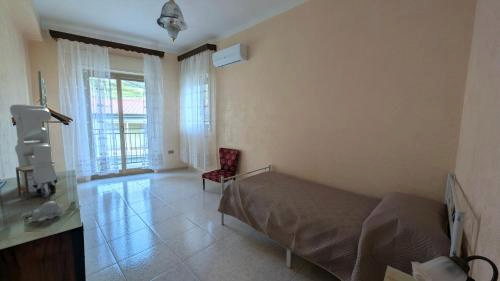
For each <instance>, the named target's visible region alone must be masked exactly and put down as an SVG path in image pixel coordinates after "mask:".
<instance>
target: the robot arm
mask: <svg viewBox="0 0 500 281" xmlns="http://www.w3.org/2000/svg"><path fill="white" fill-rule="evenodd" d="M9 111H10V114H11V116H12V118H13V119H14V121H15V128H16V136H17V141H16V145H15V146H14V150H15V151H14V152H15V153H16V156H17V160H18V161H17V162H18V167H23V166H30V165H35V168H33V172H27V174H29V173H32V181H31V182H30V183H29V184H28V187H29V185H30V186H33V187H35V188H36V189H37V194H39V196H40V195H41V194H42V193H41V188H40V186H41V184H42V183H47V182H50V184H51V185H50V191H52V192H51V193H53V192H54V190H55V188H54V185H55V186H56V184H57V183H58V182H59V181H60V179H61V178H60V177H59V176H58V175H57V174H56V171H55V166H54V165H53V164H55V161H52V155H51V151H52V148H51V145H50V142H49V141H50V140H49V133H48V129H47V128H45V127H43V125H42V123H41V122H49V121H51V120H52V114H51V112H50V110H49V108H47V107H46V106H44V105H40V104H12V105H11V106H10V107H9ZM33 141H34V142H33ZM53 166H54V167H53ZM19 177H20V186H21V188H26V187H25V177H24V172H21V171H19ZM33 183H36V185H34V184H33Z"/></svg>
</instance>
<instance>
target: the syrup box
mask: <svg viewBox="0 0 500 281" xmlns="http://www.w3.org/2000/svg"><path fill="white" fill-rule="evenodd" d="M27 178H28V184H29V183H30V182H31V181H32V173H29V174H27ZM33 184H34V185H36V183H33ZM40 188H41V190H43V183H42V184H41V186H40ZM35 191H37V189H36V188H35V187H33V186H30V185H29V192H35Z"/></svg>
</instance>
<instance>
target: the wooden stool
mask: <svg viewBox="0 0 500 281" xmlns="http://www.w3.org/2000/svg"><path fill="white" fill-rule="evenodd" d="M53 167H54V168H55V165H53ZM33 168H35V165H30V166H23V167H19V166H16V167H15V175H16V184H17V189H18V192H17V193H18V196H19V197H20V196H22V194H21V186H20V184H21V180H20V171H21V172H24V177H25V187H24V188H26V195H25V196H26V200H30V197H29V187H28V178H27V172H33ZM50 185H51V184H50V182H48V187H49V188H50ZM54 188H55V190H54V192H52V191H51V193H53V194H57V191H56V190H57V189H56V184H55V185H54Z"/></svg>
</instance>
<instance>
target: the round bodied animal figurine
mask: <svg viewBox="0 0 500 281" xmlns="http://www.w3.org/2000/svg"><path fill="white" fill-rule="evenodd" d="M31 213H32V214H31V215H32V216H31V217H30V216H28V219H29V220H30V221H31V222H33V223H34V222H38V221H39V219H41V218H43V217H44V216H46V217H47V219H48V220H49V221H50V220H52V219H54V218H56V217H58V216H61V215H62V213H63V209H62V207H60V205H59V203H58V202H56V201H54V200H50V201H46V202H44V203H43V204H42V205H40V208H39V209H37V210H35V209H33V211H32V212H31Z"/></svg>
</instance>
